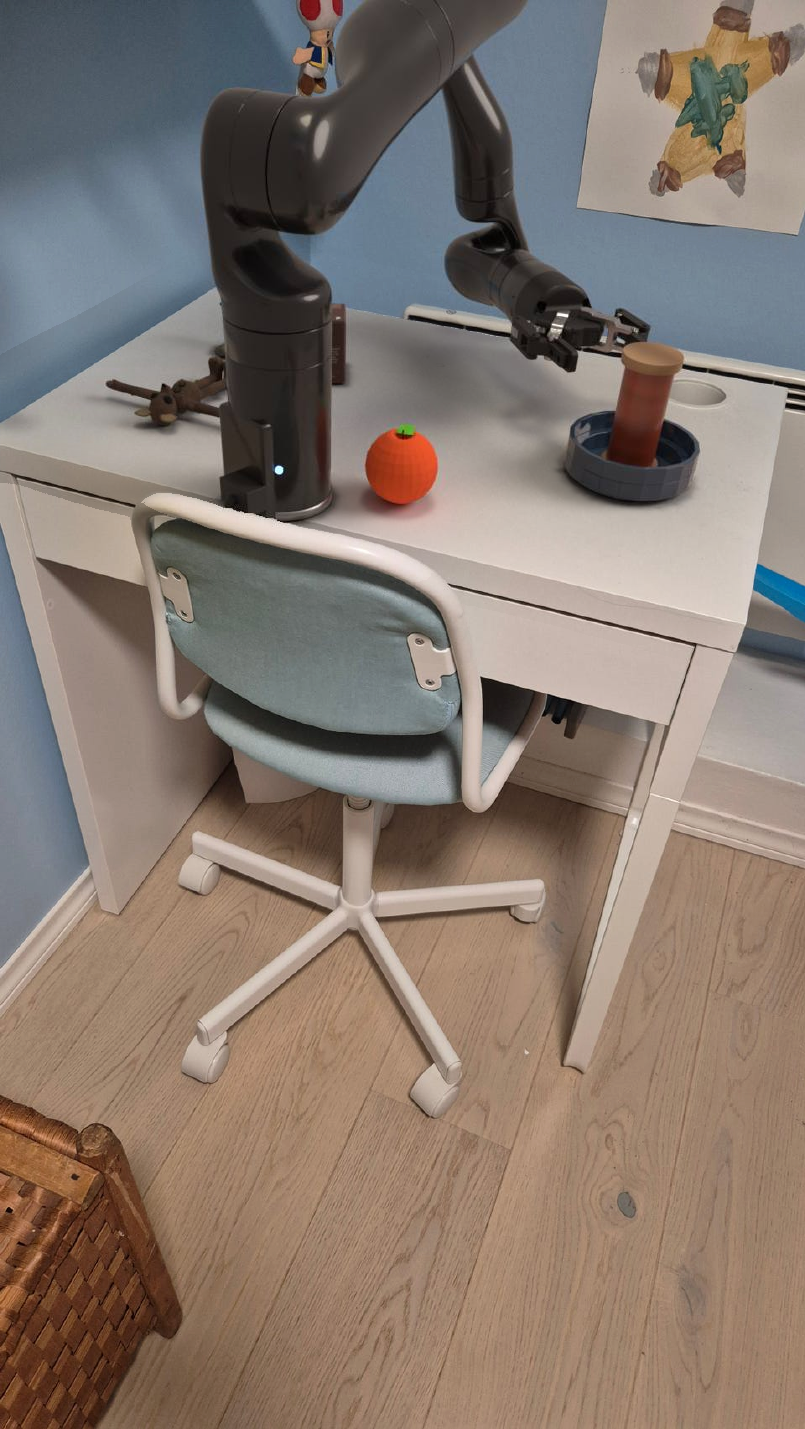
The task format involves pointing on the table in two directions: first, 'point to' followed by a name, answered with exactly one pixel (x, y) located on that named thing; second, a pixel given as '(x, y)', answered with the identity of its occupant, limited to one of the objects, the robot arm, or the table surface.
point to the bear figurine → (179, 395)
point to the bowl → (630, 481)
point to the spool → (642, 402)
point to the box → (338, 343)
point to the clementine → (401, 465)
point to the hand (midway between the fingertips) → (611, 360)
